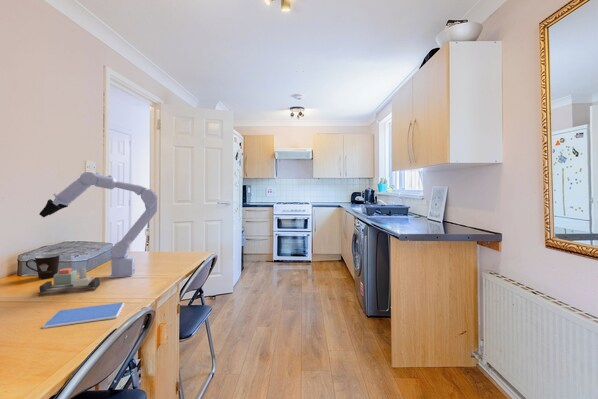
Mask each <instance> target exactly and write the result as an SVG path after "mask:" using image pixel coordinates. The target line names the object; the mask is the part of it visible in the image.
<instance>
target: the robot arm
mask: <svg viewBox="0 0 598 399" xmlns="http://www.w3.org/2000/svg"><path fill="white" fill-rule="evenodd" d="M79 176H80V177H79V178H77V179H75V180H74V181H73V182H72V183H70V184H69V185H68V186H66V188H64V189H63V190H62V191H60V192H59V193H58V194H57V193H56V192H55V193H53V194H52V195H53V196H54V200H52V199H48V200H47V202H46V203H45V206H44V207H43V209H42V210H40V212H39V214H38V215H39V216H41V217H42V218H47V216H52V215H53V214H55V213H57V212H58V211H60V210H62V209H64V208H68V207H69V205H70V204H71V203H72V202H73V201H74V202H75V200H76V199H77V198H79V197H80V196H81V195H82V194H83V193H84V192H86V191H87V189H89V188H90V187H91V186H95V187H97V188H98V187H99V188H102V189H108V190H113V189H115V188H117V189H122V190H125V191H129V192H133V193H135V194H136V195H137V196H140V198H141V200H142V202H143V204H144V207H145V211H143V213H142V214H141V215H140V217H139V218H138V219H137V220H136V221H135V222H134V224H133V225H132V226H131V228H130V229H129V230H128V231H127V232H126V234H125V235H124V236H123V237H122V238H121V240H119V241H117V242H116V243H115V244H114V246H112V247H111V250H110V254H111V256H110V257H111V258H110V259H111V260H110V262H111V264H110V266H111V267H110V268H111V269H110V270H111V272H110V273H111V274H110V275H109V276H108V279H114V278H125V277H133V275H134V274H135V273H136V268H135V267H136V265H135V264H136V263H135V259H136V258H135V256H134V255H133V256H132V255H130V254H129V253H128V251H129V249H130V246H131V245H132V244H133V242H134V240H136V239H137V237H138V236H139V235H140V233H142V231H143V229H144V228H145V227H146V226H147V225H148V224H149V222H150V221H151V220H152V218H153V217H154V216H155V215H156V214H157V212H158V196H157V193H156V191H155V190H153V189H152V188H151V189H150V188H149V189H148V187H144V186H142V185H138V184H133V183H129V182H123V181H118V180H117V179H116V178H115V177H113V175H110V174H108V175H104V174H100V173H99V172H96V173H93V172H91V171H90V172H89V171H86V172H83V173H81V174H80V175H79Z"/></svg>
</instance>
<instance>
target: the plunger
mask: <svg viewBox="0 0 598 399" xmlns="http://www.w3.org/2000/svg"><path fill="white" fill-rule="evenodd" d="M72 271H73V269H72V267H67V268H61V269H58V272H59V274H69V273H71V272H72Z"/></svg>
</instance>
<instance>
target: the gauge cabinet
mask: <svg viewBox="0 0 598 399" xmlns="http://www.w3.org/2000/svg"><path fill="white" fill-rule="evenodd" d="M77 273H78V272H77V270H73V269H72V272H71V273H69V274H59V271H58V273H57V274H55V275H54V278H53V286H57V285H69V284H73V280H74V279H76V278H77V277H78V275H77Z"/></svg>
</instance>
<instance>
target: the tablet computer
mask: <svg viewBox="0 0 598 399" xmlns="http://www.w3.org/2000/svg"><path fill="white" fill-rule="evenodd" d="M124 306H125V302H117V303H116V302H115V303H109V304H108V303H107V304H99V305H91V306H85V307H77V308H70V309H69V308H68V309H60V310H58V311H57V312H56V313H55V314H54V315H53V316H51V318H50V319H48V321H46V322H45V323H44V324H43V325H42V326H41V328H42V329H49V328H50V329H52V328H56V327H63V326H71V325H78V324H84V323H90V322H91V323H92V322H98V321H99V322H100V321H106V320H113V319H117V318H118V317H119V315H120V313H121V312H122V311H123V308H124Z"/></svg>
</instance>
